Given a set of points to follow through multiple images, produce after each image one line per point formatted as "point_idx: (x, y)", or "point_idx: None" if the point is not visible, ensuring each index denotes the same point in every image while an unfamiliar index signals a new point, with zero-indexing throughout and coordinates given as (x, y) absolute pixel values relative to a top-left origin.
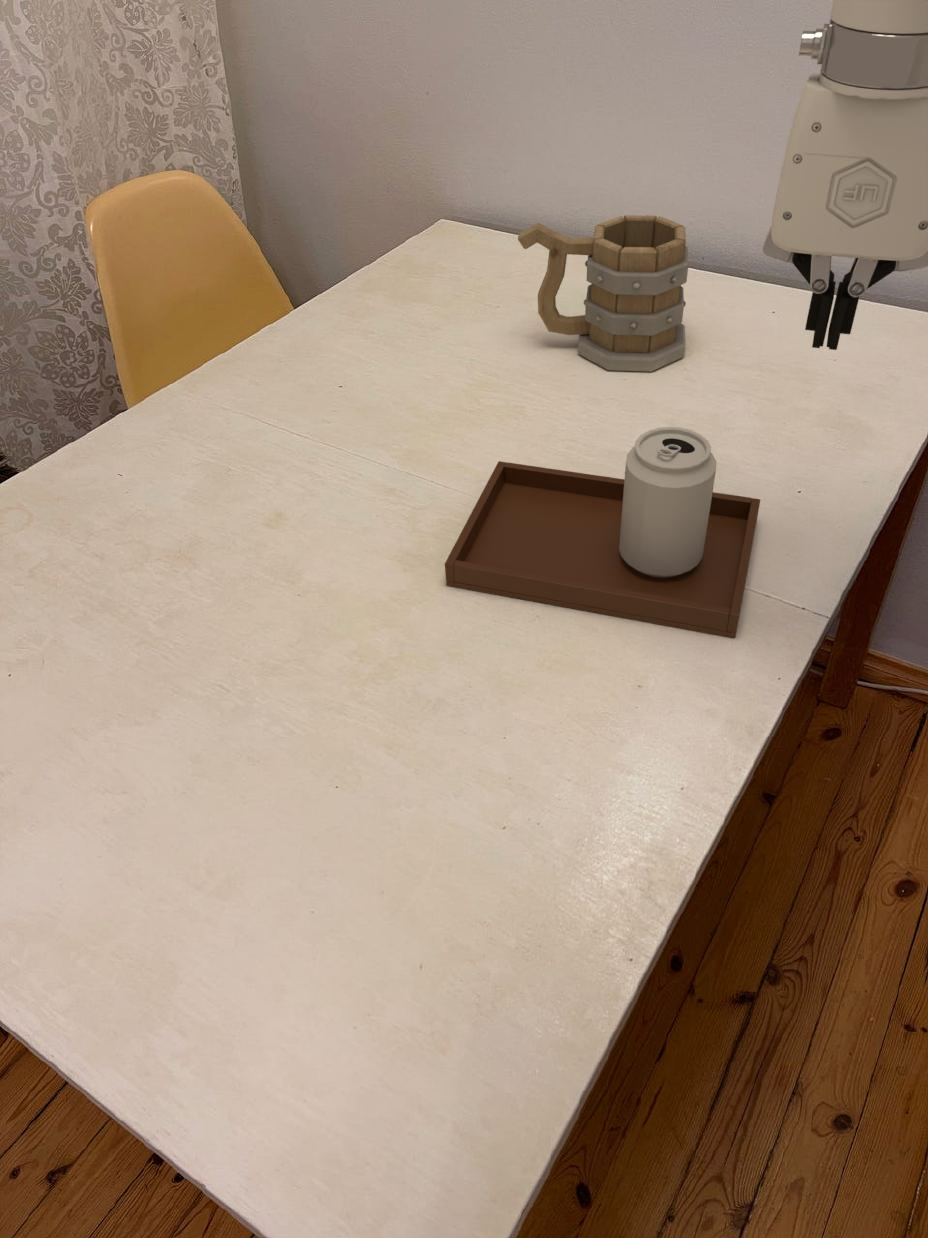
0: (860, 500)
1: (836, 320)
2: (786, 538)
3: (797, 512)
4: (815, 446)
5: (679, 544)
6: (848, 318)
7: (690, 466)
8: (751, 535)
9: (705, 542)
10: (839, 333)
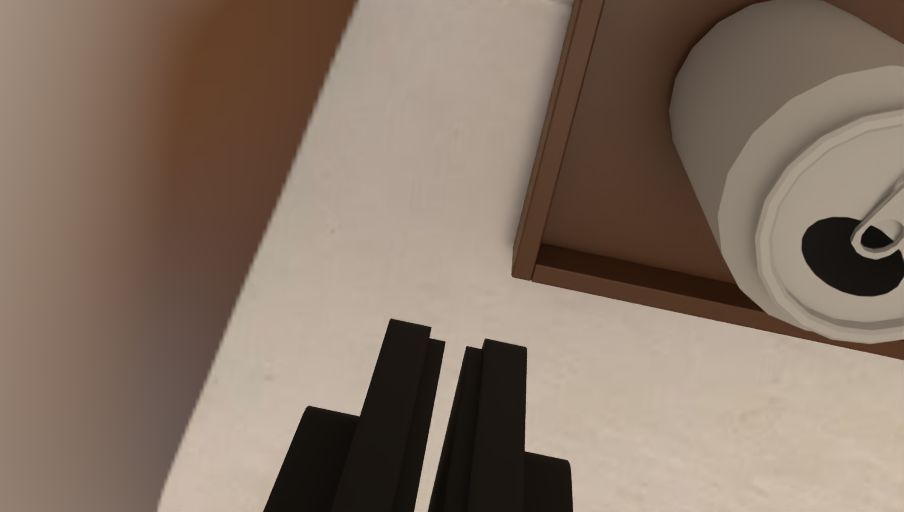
0: (280, 320)
1: (403, 432)
2: (451, 191)
3: (417, 279)
4: None
5: (783, 23)
6: (317, 470)
7: (855, 121)
8: (551, 140)
9: (647, 157)
10: (379, 373)
